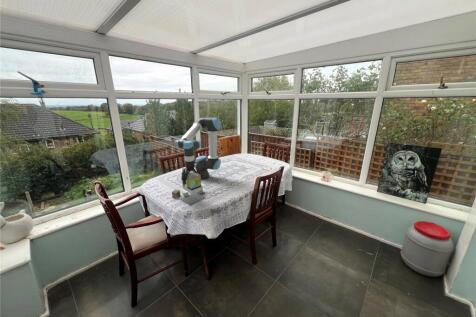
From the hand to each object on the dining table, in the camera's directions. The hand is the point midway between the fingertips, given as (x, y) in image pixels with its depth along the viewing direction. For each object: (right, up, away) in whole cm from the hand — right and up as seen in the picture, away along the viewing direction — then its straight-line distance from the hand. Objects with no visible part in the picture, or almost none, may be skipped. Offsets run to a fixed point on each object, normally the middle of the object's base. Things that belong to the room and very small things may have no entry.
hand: (191, 184), depth 157 cm
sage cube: (-8, -11, +9) cm, 17 cm away
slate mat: (0, -13, +4) cm, 13 cm away
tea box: (0, -4, +1) cm, 5 cm away
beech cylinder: (+4, -9, +15) cm, 18 cm away
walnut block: (-16, -11, +9) cm, 21 cm away
